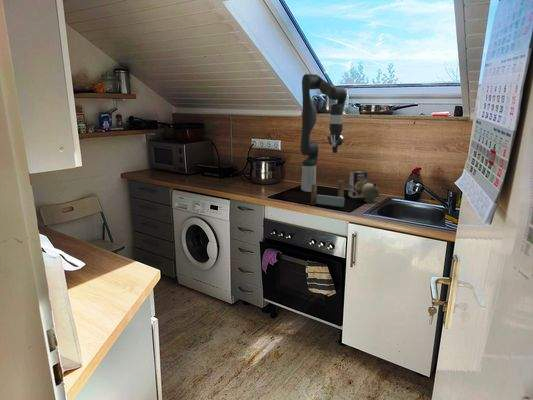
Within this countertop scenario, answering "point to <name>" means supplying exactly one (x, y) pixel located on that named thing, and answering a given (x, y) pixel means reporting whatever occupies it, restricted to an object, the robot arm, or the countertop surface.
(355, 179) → the coffee box
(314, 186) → the gate frame
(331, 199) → the gate
